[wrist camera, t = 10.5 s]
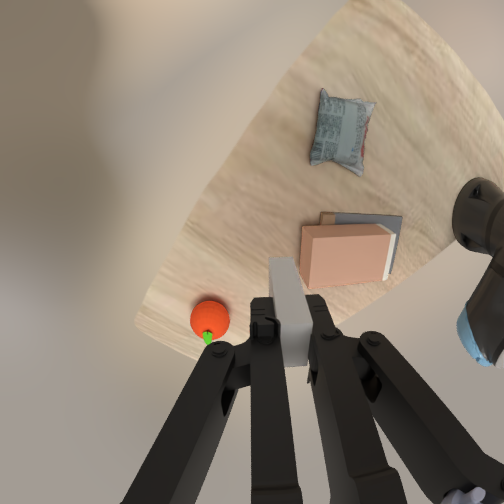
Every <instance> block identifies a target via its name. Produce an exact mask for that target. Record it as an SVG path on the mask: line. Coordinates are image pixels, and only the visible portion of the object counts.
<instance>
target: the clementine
mask: <svg viewBox="0 0 504 504" xmlns="http://www.w3.org/2000/svg"><path fill="white" fill-rule="evenodd" d="M229 323H230V319H229V314H228V312H227V310H226V309H225V307H224V306H223V305H221V304H220V303H218V302H215V301H204V302H202V303H200V304H198V305H197V306H196V307H195V308H194V309H193V311H192V313H191V317H190V324H191V327H192V329H193V331H194V332H195V333H196V334H197V335H198V336H199V337H201V338H203V339H204V341H205V343H206V344H207V345H209V344H210V343H211V341H212V340H214V339H218V338H220V337H222V336H223V335H224V334H225V333H226V331H227V330H228V327H229Z"/></svg>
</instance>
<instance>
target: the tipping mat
mask: <svg viewBox="0 0 504 504" xmlns="http://www.w3.org/2000/svg"><path fill="white" fill-rule="evenodd" d="M401 223H402V216H391V215H374V214H356V213H333V212H321V216H320V225H345V224H382V225H383V226H385V227H386V228H388V229H389V230H391V231H392V232H394V233H395V234H396V239H395V244H394V249H393V254H392V259H391V264H390V269H389V273H388V274H391V271H392V267H393V262H394V258H395V254H396V249H397V244H398V239H399V234H400V229H401Z"/></svg>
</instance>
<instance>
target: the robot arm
mask: <svg viewBox="0 0 504 504" xmlns="http://www.w3.org/2000/svg"><path fill="white" fill-rule="evenodd" d="M453 231H454V235H455V237H456V239H457V241H458V242H459V243H460V244H461V245H462V246H463V247H465V248H466V249H468V250H470V251H474V252H479V253H483V254H489V255H491V256H492V257H493V258H492V260H491V262H490V264H489V266H488V268H487V270H486V271H485V273H484V275H483V277H482V279H481V280H480V282H479V284H478V285H477V287H476V289H475V291H474V292H473V294H472V296H471V297H470V299H469V300H468V301H467V302H466V304H465V307H464V309H463V311H462V312H461V314H460V316H459V318H458V320H457V332H458V336H459V338H460V340H461V342H462V344H463V346H464V347H465V348H466V350H467V351H468V353H469V354H470V355H471V356H472V357H473V358H475V359H476V361H477V362H478V363H479V364H480V365H482V366H490V365H492V364H494V366H495V367H496V368H504V192H503V191H502V190H501V189H500V188H499V187H498V186H497V185H496V184H494V183H493V182H491V181H489V180H486V179H484V178H475V179H473V180H471V181H469V182H468V183H467V184H466V185H465V186H464V187H463V189H462V190H461V192H460V194H459V196H458V198H457V200H456V203H455V207H454V211H453ZM250 310H251V322H250V337H249V339H248V340H247V341H246V342H244V343H242V344H239V345H236V346H233V345H231V344H230V343H228V342H225V341H216V342H212V343H210V344H209V345H207V346H206V348H205V349H204V351H203V353H202V354H201V356H200V358H199V360H198V362H197V364H196V366H195V368H194V370H193V371H192V373H191V375H190V377H189V379H188V381H187V382H186V384H185V386H184V388H183V390H182V392H181V394H180V395H179V397H178V399H177V401H176V403H175V405H174V407H173V409H172V411H171V412H170V414H169V416H168V418H167V420H166V422H165V423H164V425H163V428H162V429H161V431H160V433H159V435H158V437H157V438H156V440H155V442H154V444H153V446H152V448H151V449H150V451H149V453H148V455H147V457H146V459H145V461H144V462H143V464H142V466H141V468H140V470H139V472H138V473H137V475H136V477H135V479H134V481H133V483H132V484H131V486H130V488H129V490H128V492H127V494H126V496H125V497H124V499H123V501H122V502H121V503H120V504H195V502H196V500H197V497H198V495H199V492H200V490H201V487H202V485H203V482H204V480H205V477H206V475H207V472H208V470H209V467H210V464H211V462H212V460H213V457H214V454H215V452H216V449H217V447H218V444H219V441H220V439H221V436H222V433H223V431H224V428H225V425H226V423H227V420H228V417H229V415H230V412H231V409H232V406H233V404H234V401H235V398H236V395H237V392H238V389H239V388H243V387H246V386H250V385H251V477H252V478H251V483H252V484H251V485H252V486H251V504H303V499H302V492H301V488H300V486H299V484H298V478H297V469H296V461H295V452H294V443H293V434H292V426H291V417H290V409H289V402H288V393H287V385H286V377H285V369H284V367H295V366H307V363H308V360H309V364H310V368H309V373H308V379H307V383H309V382H311V387H312V392H313V398H314V403H315V408H316V413H317V418H318V424H319V429H320V435H321V440H322V446H323V451H324V457H325V463H326V469H327V475H328V481H329V487H330V494H331V498H330V504H407V500H406V497H405V493H404V489H403V486H402V482H401V479H400V476H399V473H398V471H397V470H396V469H395V468H392V467H390V466H389V465H388V463H387V460H386V457H385V453H384V450H383V447H382V443H381V441H380V437H379V434H378V431H377V428H376V425H375V422H374V419H373V417H374V418H375V420H376V421H377V423H378V424H379V426H380V427H381V429H382V430H383V432H384V433H385V435H386V436H387V438H388V439H389V441H390V442H391V444H392V446H393V447H394V449H395V450H396V452H397V453H398V455H399V456H400V458H401V459H402V461H403V462H404V464H405V465H406V467H407V468H408V470H409V471H410V473H411V474H412V476H413V478H414V479H415V481H416V482H417V484H418V485H419V487H420V488H421V490H422V491H423V492H424V494H425V495H426V497H427V498H428V499H430V501H431V502H432V503H433V504H501V503H503V502H504V464H502V463H500V462H498V461H497V460H495V459H493V458H492V457H490V456H488V455H486V454H485V453H484V452H483V451H482V450H481V448H480V447H479V446H478V445H477V443H476V442H475V441H474V440H473V438H472V437H471V436H470V434H469V433H468V432H467V431H466V429H465V428H464V427H463V426H462V425H461V423H460V422H459V421H458V420H457V418H456V417H455V416H454V415H453V414H452V412H451V411H450V410H449V409H448V408H447V407H446V405H445V404H444V403H443V402H442V401H441V400H440V398H439V397H438V396H437V395H436V393H435V392H434V391H433V390H432V389H431V388H430V387H429V385H428V384H427V383H426V382H425V381H424V380H423V379H422V377H421V376H420V375H419V374H418V373H417V372H416V370H415V369H414V368H413V367H412V366H411V365H410V364H409V363H408V361H407V360H406V359H405V358H404V357H403V356H402V355H401V354H400V353H399V351H398V350H397V349H396V348H395V347H394V346H393V345H392V344H391V343H390V342H389V340H388V339H387V338H386V337H385V336H384V335H382V334H381V333H378V332H376V331H367V332H365V333H363V334H362V335H361V336H360V338H352V337H347V336H344V335H343V333H342V332H341V331H340V330H339V329H338V328H336V327H335V325H334V323H333V320H332V318H331V315H330V312H329V311H328V307H327V305H326V302H325V300H324V299H323V298H322V297H321V296H320V295H319V294H314V295H305V294H304V291H303V288H302V284H301V281H300V278H299V275H298V272H297V268H296V265H295V262H294V259H293V257H269V297H259V298H254V299H253V300H252V302H251V303H250ZM372 415H373V416H372Z"/></svg>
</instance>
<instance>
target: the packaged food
mask: <svg viewBox="0 0 504 504" xmlns="http://www.w3.org/2000/svg"><path fill="white" fill-rule="evenodd" d="M375 104H376V102H363V101H362V100H361V99H342V98H336V97H328V94H327V92H326V91H325V90H324V88H322V90H321V94H320V103H319V110H318V120H317V130H316V134H315V139H314V142H313V144H312V149H311V152H310V164H311V166H312V165H318V164H320V163H323V162H325V161H330V160H332V161H334V162H336V163H338V164H340V165H342V166H344V167H346V168H347V169H349V170H350V171H352V172H354V173H355V174H356V175H357V176H359V177H361V176H362V174H363V170H364V166H363V158H364V150H365V146H364V145H365V138H366V133H367V131H368V123H369V120H370V117H371V114H372V111H373V108H374V106H375Z"/></svg>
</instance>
